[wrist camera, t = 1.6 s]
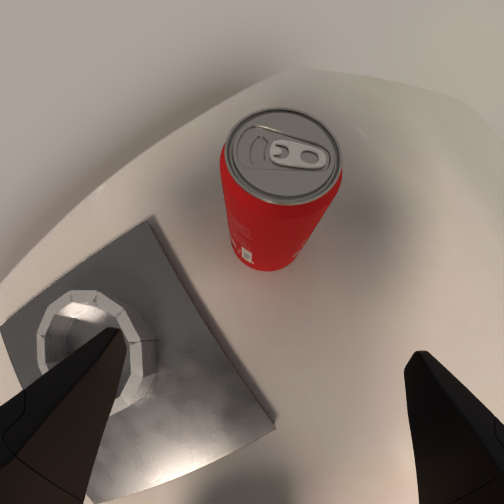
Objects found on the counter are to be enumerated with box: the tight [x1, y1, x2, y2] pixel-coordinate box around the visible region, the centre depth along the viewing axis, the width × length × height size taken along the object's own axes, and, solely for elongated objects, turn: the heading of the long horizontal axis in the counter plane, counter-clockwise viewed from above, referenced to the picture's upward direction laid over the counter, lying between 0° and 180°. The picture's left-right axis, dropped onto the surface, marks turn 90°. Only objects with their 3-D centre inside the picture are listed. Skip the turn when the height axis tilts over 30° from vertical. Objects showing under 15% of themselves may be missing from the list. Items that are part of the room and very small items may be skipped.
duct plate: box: [0, 221, 276, 504], centre depth 18 cm, size 18×18×4 cm
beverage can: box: [220, 108, 342, 271], centre depth 17 cm, size 5×5×12 cm
